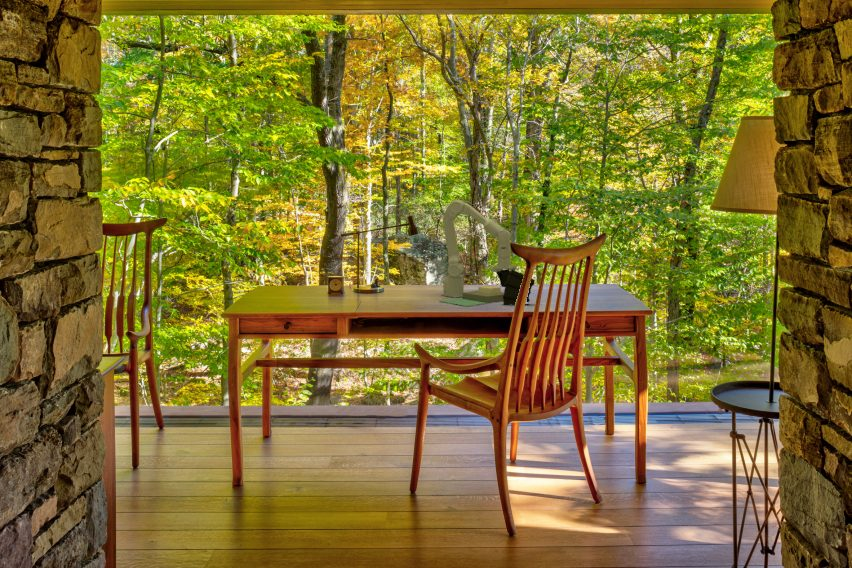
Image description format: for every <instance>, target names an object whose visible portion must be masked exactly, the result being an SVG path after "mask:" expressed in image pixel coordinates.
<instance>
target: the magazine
mask: <svg viewBox="0 0 852 568" xmlns="http://www.w3.org/2000/svg"><path fill="white" fill-rule="evenodd" d="M509 271H510V273H509V276H508V279H507V282H506V283H505V285H506V286H505V287H504V291H503V293H504V295H503V299H504V301H502V303H503V305H504V306H516V305H515V302H516V299H517V296H518V293H519V289H520V285H521V283H522V279H523V276H524V275H525V274H523V273H520V272H519V271H517V270H513V269H512V270H509ZM535 282H536V280H535V279H534V278H531V283H530V288H529V293H528V297H527V302H529V303H530V300H531V299H530V294H531V293H532V291H531V290H532V287H534V286H535ZM510 304H512V305H510Z"/></svg>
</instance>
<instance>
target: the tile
mask: <svg viewBox="0 0 852 568" xmlns="http://www.w3.org/2000/svg"><path fill="white" fill-rule="evenodd" d="M501 289H502V287H501V286H493V285H483V286H478V290H477V291H478V292H480V293H486V294H497V293H501Z"/></svg>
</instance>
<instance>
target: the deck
mask: <svg viewBox="0 0 852 568" xmlns="http://www.w3.org/2000/svg"><path fill="white" fill-rule="evenodd" d="M503 295H504V291H502V292H501V293H497V294H486V293H480V292H478V290H472V291H464V293H463V297H462V299H466V300H473V301H479V302H485V303H487V304H493V303H492V302H494V303H498V302H499V303H501V302H504V299H503ZM500 301H501V302H500Z"/></svg>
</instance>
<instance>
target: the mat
mask: <svg viewBox="0 0 852 568" xmlns="http://www.w3.org/2000/svg"><path fill="white" fill-rule="evenodd" d="M439 301H440V302H439V303H443V302H445V303H444V304H448V303H451V304H450V305H454V304H457V305H456V306H460V305H461V306H460V307H465V306H466V307H467V306H468V307H474V306H473V305H476V306H481V305H480V304H483V305H488V303H485V302H479V301H473V300H466V299H463V298H460V297H457V298H451V299H445V300H444V299H443V300H439ZM466 307H465V308H466Z"/></svg>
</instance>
